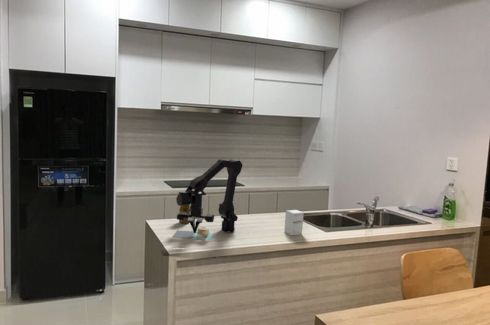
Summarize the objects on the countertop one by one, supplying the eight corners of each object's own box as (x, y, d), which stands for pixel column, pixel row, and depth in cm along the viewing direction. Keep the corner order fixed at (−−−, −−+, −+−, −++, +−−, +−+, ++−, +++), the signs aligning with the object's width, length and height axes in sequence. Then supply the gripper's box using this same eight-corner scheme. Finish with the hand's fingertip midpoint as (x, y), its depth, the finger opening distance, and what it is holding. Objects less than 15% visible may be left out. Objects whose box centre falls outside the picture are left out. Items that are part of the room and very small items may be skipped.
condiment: (186, 221, 230) (187, 201, 229) (194, 225, 224) (194, 204, 222) (175, 223, 226) (176, 202, 224) (183, 226, 219) (183, 205, 218)
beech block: (208, 234, 205) (208, 227, 205) (206, 237, 200) (207, 230, 200) (199, 234, 206) (199, 226, 205) (197, 236, 201) (197, 229, 200)
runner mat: (214, 233, 209) (214, 232, 209) (210, 241, 197) (210, 239, 197) (177, 231, 210) (177, 230, 210) (171, 238, 198) (171, 237, 198)
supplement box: (291, 236, 213) (292, 213, 211) (283, 232, 219) (285, 210, 218) (302, 234, 216) (304, 212, 215) (294, 230, 223) (296, 209, 221)
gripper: (216, 201, 209) (214, 230, 211) (181, 199, 210) (180, 227, 212) (213, 206, 198) (211, 236, 200) (177, 203, 199) (175, 233, 201)
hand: (194, 233), depth 203 cm, fingers closed
